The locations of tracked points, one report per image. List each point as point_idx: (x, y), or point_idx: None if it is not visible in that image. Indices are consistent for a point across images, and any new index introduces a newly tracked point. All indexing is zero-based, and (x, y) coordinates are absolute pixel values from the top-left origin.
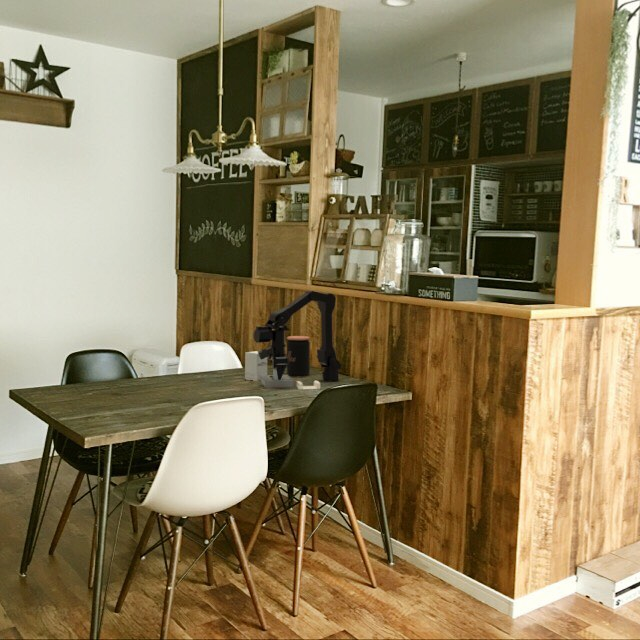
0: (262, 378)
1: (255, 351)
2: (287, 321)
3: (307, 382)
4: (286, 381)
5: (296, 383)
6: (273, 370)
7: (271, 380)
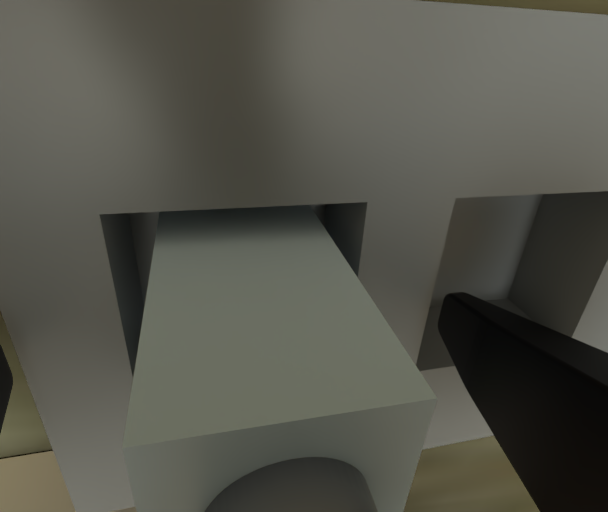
0: (515, 9)
1: None
2: None
3: (453, 480)
4: (53, 432)
5: None
6: (375, 361)
7: (65, 181)
